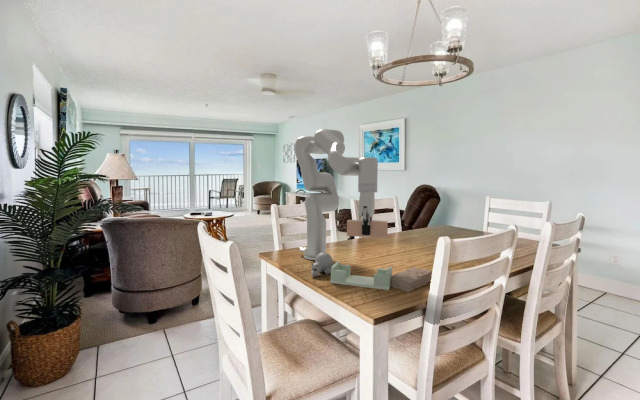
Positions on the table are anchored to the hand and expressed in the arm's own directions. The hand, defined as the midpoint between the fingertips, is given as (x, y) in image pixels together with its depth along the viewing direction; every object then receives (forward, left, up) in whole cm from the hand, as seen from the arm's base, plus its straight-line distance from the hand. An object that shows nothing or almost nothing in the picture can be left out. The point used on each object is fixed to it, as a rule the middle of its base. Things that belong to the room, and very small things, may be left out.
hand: (367, 233), depth 133 cm
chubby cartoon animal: (-18, -4, -18) cm, 26 cm away
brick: (+18, -4, -18) cm, 26 cm away
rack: (0, -9, -18) cm, 20 cm away
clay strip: (0, 0, -1) cm, 1 cm away
